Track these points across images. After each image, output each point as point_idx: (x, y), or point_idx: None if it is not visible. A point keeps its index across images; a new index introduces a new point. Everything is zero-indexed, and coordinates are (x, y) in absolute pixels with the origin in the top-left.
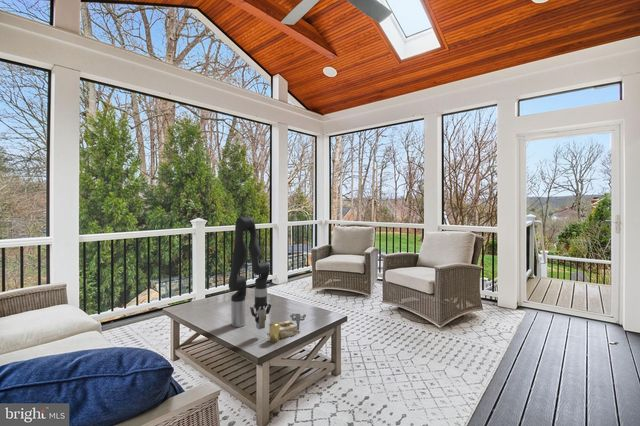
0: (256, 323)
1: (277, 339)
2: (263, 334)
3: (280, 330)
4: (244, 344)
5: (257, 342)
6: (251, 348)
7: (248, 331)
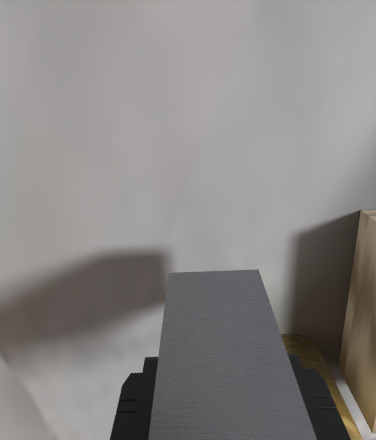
0: (165, 313)
1: None
2: (254, 225)
3: (373, 430)
4: (34, 319)
5: (143, 338)
6: (73, 394)
7: (136, 57)
